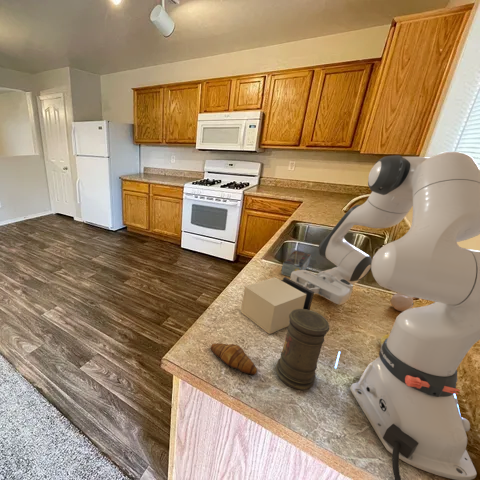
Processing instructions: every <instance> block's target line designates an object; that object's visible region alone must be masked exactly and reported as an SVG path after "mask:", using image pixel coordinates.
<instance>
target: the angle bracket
mask: <svg viewBox="0 0 480 480" xmlns="http://www.w3.org/2000/svg"><path fill="white" fill-rule="evenodd" d="M280 280H281V281H283V282H285V283H287V284H288V285H290V286H292V287H294V288H296V289H298V290H299V291H301V292H303V293H305V294H307V295H306V299H305V302H304V306H303V309H307V310H311V306H312V302H313V299H314V295H315V294H314V292H313V291H311V290H309V289H307V288H305V287H303V286H302V285H300V284H298V283H296V282H294V281H292V280H291V278H288V277H287V276H286V277H283V278H282V279H280Z"/></svg>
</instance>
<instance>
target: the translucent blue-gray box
mask: <svg viewBox="0 0 480 480" xmlns="http://www.w3.org/2000/svg"><path fill="white" fill-rule="evenodd" d="M311 256H312V253H309V252H305V251H300V250H296V249H295V250H294V251H293V252H292V253H291V254H290V255H289V256H288V257H287V258H286V259H285V260H284V261H283V263H282V265H281V275H284V276H286V277H291V273H292V272H293V271H297V270H306V271H307V268H308V267H309V266H310V264H311V263H310V262H311V258H312V257H311Z"/></svg>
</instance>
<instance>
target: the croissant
mask: <svg viewBox="0 0 480 480" xmlns="http://www.w3.org/2000/svg"><path fill="white" fill-rule="evenodd" d="M210 351H211V352H212V353H213V354H214V356H215V357H217V358H218V359H219V360H221V361H222V362H223V363H224V364H225V365H226V366H228V367H229V368H232V369H235V370H238V371H239V372H240V373H244V374H246V375H250V376H255V375H256V374H257V373H258V368H257V367H256V365H255V364H254V362H253V361H252V359H251V358H250V357H249V356H248V355H247V354H246V351H245V350H244V349H243V348H242V347H241V346H240V345H238V344H234V343H229V344H228V343H219V342H217V343H212V344H211V346H210Z"/></svg>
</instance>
